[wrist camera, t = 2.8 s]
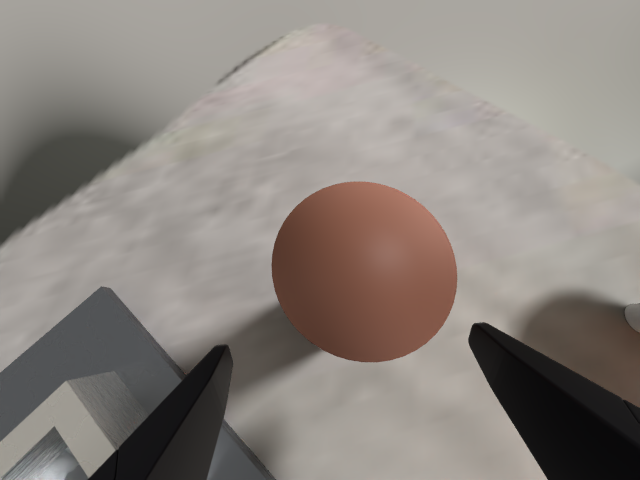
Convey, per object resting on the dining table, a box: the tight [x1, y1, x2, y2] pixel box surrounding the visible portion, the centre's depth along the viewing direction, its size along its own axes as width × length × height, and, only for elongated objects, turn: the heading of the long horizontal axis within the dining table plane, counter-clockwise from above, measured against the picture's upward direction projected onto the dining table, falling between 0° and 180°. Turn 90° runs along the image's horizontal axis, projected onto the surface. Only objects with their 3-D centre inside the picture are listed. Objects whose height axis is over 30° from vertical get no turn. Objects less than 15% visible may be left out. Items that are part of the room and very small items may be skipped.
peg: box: [272, 182, 457, 362], centre depth 12 cm, size 4×4×13 cm
